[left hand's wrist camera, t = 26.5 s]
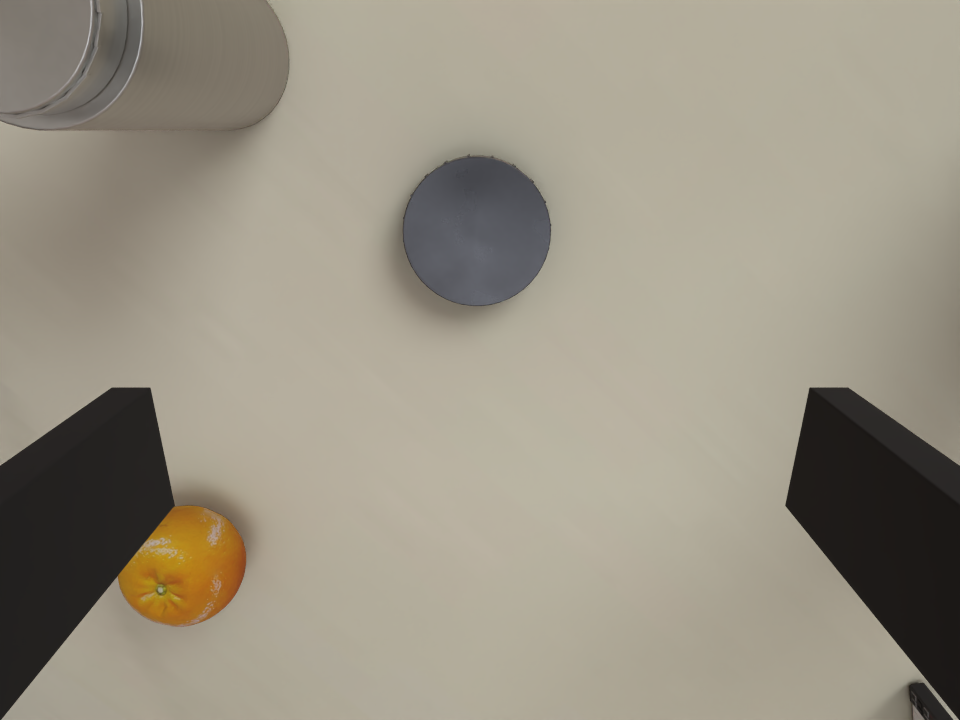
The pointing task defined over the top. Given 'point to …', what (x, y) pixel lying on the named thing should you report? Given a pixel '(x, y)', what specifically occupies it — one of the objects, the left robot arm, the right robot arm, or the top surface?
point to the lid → (476, 230)
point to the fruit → (185, 568)
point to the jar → (140, 64)
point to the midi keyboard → (926, 704)
